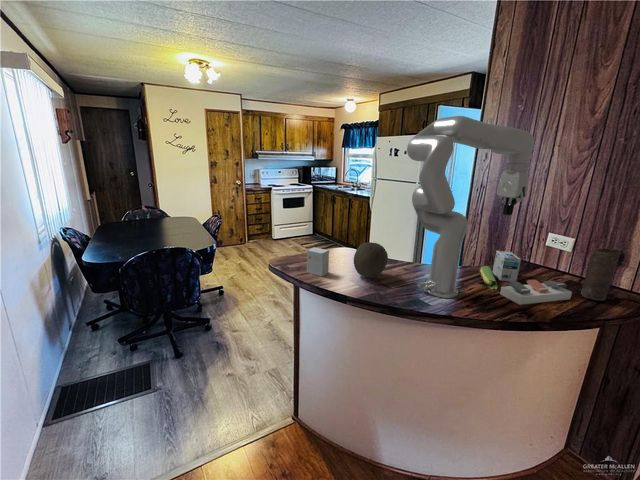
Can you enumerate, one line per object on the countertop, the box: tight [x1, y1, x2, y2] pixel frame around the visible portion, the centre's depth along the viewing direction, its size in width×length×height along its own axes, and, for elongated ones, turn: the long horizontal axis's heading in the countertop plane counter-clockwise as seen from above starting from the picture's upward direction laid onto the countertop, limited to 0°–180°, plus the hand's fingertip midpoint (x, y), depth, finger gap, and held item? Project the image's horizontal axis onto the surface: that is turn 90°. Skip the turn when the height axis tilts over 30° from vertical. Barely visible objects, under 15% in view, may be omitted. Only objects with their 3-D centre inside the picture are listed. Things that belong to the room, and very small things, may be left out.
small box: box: [306, 247, 330, 277], centre depth 134 cm, size 8×6×10 cm
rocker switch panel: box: [499, 282, 573, 306], centre depth 118 cm, size 24×9×4 cm, turn 104°
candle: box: [580, 247, 621, 301], centre depth 116 cm, size 8×7×20 cm
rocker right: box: [542, 280, 568, 288], centre depth 120 cm, size 4×6×1 cm, turn 14°
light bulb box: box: [492, 250, 522, 283], centre depth 136 cm, size 11×7×11 cm, turn 168°
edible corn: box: [478, 265, 498, 290], centre depth 131 cm, size 5×20×5 cm
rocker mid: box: [526, 279, 549, 292], centre depth 117 cm, size 4×6×1 cm, turn 14°
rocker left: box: [508, 281, 531, 294], centre depth 115 cm, size 4×6×1 cm, turn 14°
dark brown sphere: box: [353, 241, 389, 280], centre depth 131 cm, size 14×14×15 cm
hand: (507, 214), depth 125 cm, fingers closed
